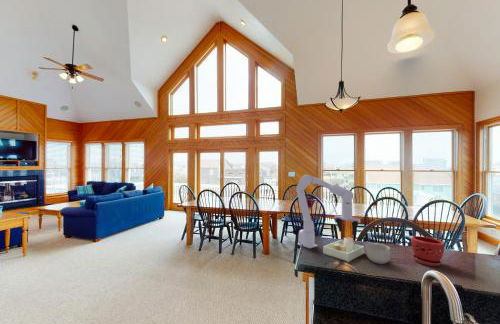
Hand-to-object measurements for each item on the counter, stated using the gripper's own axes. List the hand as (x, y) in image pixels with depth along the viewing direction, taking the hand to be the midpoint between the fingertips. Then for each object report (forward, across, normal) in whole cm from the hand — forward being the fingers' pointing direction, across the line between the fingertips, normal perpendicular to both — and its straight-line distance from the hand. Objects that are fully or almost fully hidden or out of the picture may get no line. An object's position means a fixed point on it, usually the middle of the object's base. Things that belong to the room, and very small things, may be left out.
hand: (346, 232), depth 130 cm
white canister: (+9, +2, -3) cm, 10 cm away
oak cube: (+9, +1, -12) cm, 16 cm away
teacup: (+10, +18, -5) cm, 21 cm away
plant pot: (+10, +36, +11) cm, 39 cm away
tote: (+10, +1, -8) cm, 13 cm away
